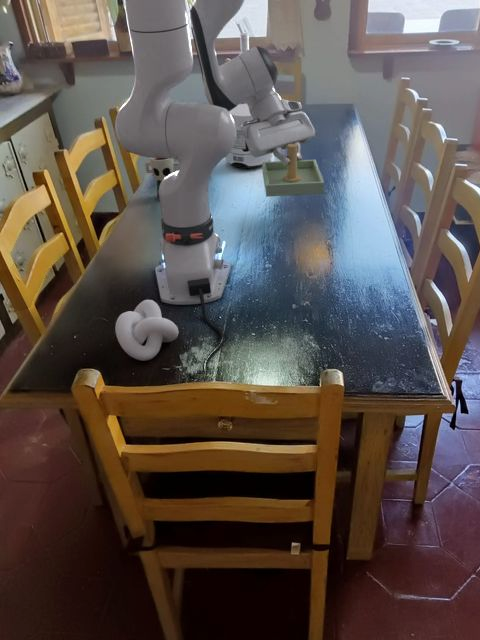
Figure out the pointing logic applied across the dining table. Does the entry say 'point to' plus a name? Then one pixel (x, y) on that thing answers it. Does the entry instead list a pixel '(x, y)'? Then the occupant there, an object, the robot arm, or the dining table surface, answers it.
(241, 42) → the bottle
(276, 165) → the tray
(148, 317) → the white trefoil knot
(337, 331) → the dining table surface
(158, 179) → the character mug
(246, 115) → the milk container
